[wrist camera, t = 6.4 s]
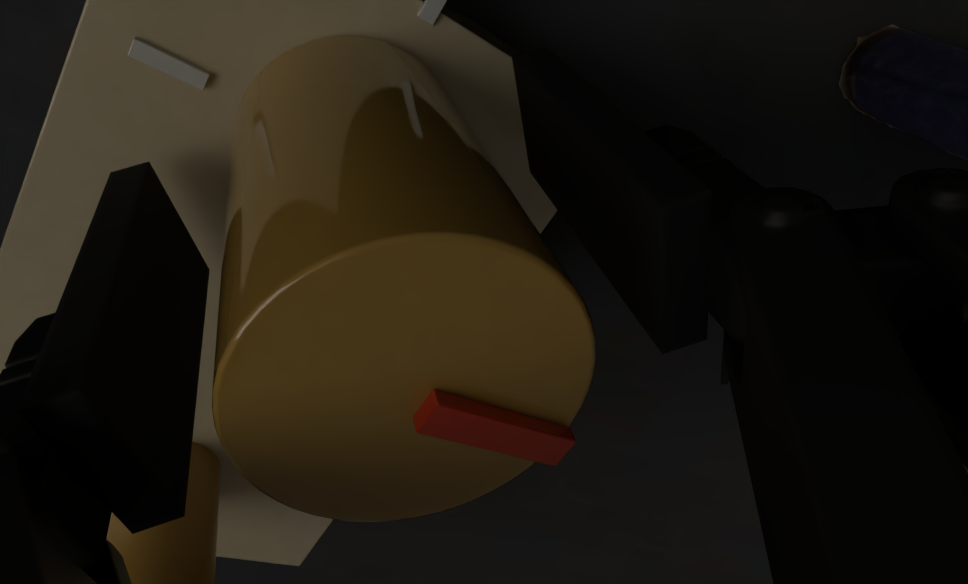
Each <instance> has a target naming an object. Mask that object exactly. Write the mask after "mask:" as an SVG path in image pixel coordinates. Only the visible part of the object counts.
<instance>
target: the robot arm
mask: <svg viewBox="0 0 968 584" xmlns="http://www.w3.org/2000/svg"><path fill="white" fill-rule="evenodd" d="M512 62H513V68H514V75H515V81H516V87H517V94H518V100H519V106H520V112H521V119H522V125H523V131H524V138H525V144H526V150H527V157H528V163H529V169H530V173H531V174H532V176H533V177H534V178H535V180H536V181H537V183H538V184H539V185H540V187H541V188H542V189H543V191H544V192H545V194H546V195H547V196H548V198H549V199H550V200H551V202H552V203H553V205H554V206H555V207H556V209H557V210H558V211H559V213H560V214H561V216H562V217H563V218H564V220H565V221H566V222H567V224H568V225H569V226H570V228H571V229H572V231H573V232H574V233H575V235H576V236H577V237H578V239H579V240H580V242H581V243H582V244H583V246H584V247H585V248H586V250H587V251H588V253H589V254H590V255H591V257H592V258H593V259H594V261H595V262H596V264H597V265H598V266H599V268H600V269H601V270H602V272H603V273H604V275H605V276H606V277H607V279H608V280H609V281H610V283H611V284H612V286H613V287H614V288H615V290H616V291H617V292H618V294H619V295H620V296H621V298H622V299H623V301H624V302H625V303H626V305H627V306H628V307H629V309H630V310H631V312H632V313H633V314H634V316H635V317H636V318H637V320H638V321H639V323H640V324H641V325H642V327H643V328H644V329H645V331H646V332H647V334H648V335H649V336H650V338H651V339H652V340H653V342H654V343H655V345H656V346H657V347H658V349H659V350H660V351H661V353H662V354H664V353H667V352H670V351H673V350H676V349H679V348H682V347H685V346H688V345H691V344H694V343H697V342H700V341H703V340H706V339H707V321H708V311H709V313H710V314H711V315H712V316H713V317H714V318H715V319H716V321H717V322H718V323H719V324H720V325H721V326H722V327H723V329H724V339H723V356H722V373H721V384H728V382H729V381H730V386H731V390H732V395H733V399H734V404H735V409H736V413H737V418H738V422H739V427H740V431H741V436H742V441H743V445H744V450H745V454H746V459H747V464H748V468H749V473H750V477H751V482H752V486H753V491H754V496H755V500H756V505H757V509H758V514H759V519H760V523H761V528H762V532H763V537H764V541H765V546H766V551H767V555H768V560H769V564H770V569H771V574H772V578H773V583H774V584H968V474H967V472H966V470H965V468H964V466H963V464H964V465H965V467H966V468H967V469H968V172H967V171H964V170H961V169H954V168H950V169H947V168H935V169H927V170H919V171H915V172H912V173H910V174H907V175H904V176H902V177H901V178H900V179H898V180H897V181H896V182H895V183H894V184H893V186H892V191H891V195H890V199H889V204H888V205H887V206H878V207H868V208H858V209H849V210H833V208H832V207H831V206H830V205H829V204H828V203H827V201H826V200H825V199H824V198H822V197H820V196H817V195H815V194H813V193H811V192H809V191H805V190H800V189H795V188H786V187H770V188H763V187H762V186H761V185H760V184H758V183H757V182H756V181H754V180H753V179H752V178H750V177H749V176H748V175H747V174H745V173H744V172H743V171H741V170H740V169H739V168H737V167H736V166H735V165H734V164H732V163H731V162H730V161H728V160H727V159H726V158H723V159H722V155H721V154H719V153H718V152H717V151H715V150H714V149H713V148H709V147H708V144H706V143H705V142H704V141H702V140H701V139H700V138H698V137H697V136H696V135H695V134H693V133H692V132H689V131H686V130H683V129H680V128H676V127H673V126H670V125H663V126H660V127H657V128H654V129H650V130H647V131H644V132H643V131H642V130H641V129H640V128H639V127H637V126H636V125H635V124H634V123H633V122H632V121H630V120H629V119H628V118H627V117H626V116H625V115H624V114H622V113H621V112H620V111H619V110H618V109H617V108H615V107H614V106H613V105H612V104H611V103H610V102H608V101H607V100H606V99H605V98H604V97H603V96H602V95H600V94H599V93H598V92H597V91H596V90H595V89H593V88H592V87H591V86H590V85H589V84H588V83H586V82H585V81H584V80H583V79H582V78H581V77H580V76H578V75H577V74H576V73H575V72H574V71H573V70H571V69H570V68H569V67H568V66H567V65H566V64H564V63H563V62H562V61H561V60H560V59H559V58H558V57H556V56H555V55H554V54H553V53H552V52H551V51H549V50H548V49H547V48H543V49H539V50H536V51H532V52H529V53H526V54H522V55H519V56H515V57H512ZM209 272H210V270H209V268H208V266H207V264H206V262H205V261H204V259H203V257H202V255H201V253H200V252H199V250H198V248H197V246H196V244H195V243H194V241H193V239H192V237H191V235H190V234H189V232H188V230H187V228H186V227H185V225H184V223H183V221H182V219H181V218H180V216H179V214H178V212H177V210H176V209H175V207H174V205H173V203H172V201H171V200H170V198H169V196H168V194H167V192H166V191H165V189H164V187H163V185H162V183H161V182H160V180H159V178H158V176H157V175H156V173H155V171H154V169H153V167H152V166H151V164H150V162H145V163H142V164H138V165H135V166H131V167H128V168H124V169H121V170H117V171H114V172H110V175H109V178H108V180H107V183H106V185H105V188H104V190H103V193H102V195H101V198H100V200H99V203H98V205H97V208H96V211H95V213H94V216H93V218H92V221H91V223H90V226H89V228H88V231H87V233H86V236H85V239H84V241H83V244H82V246H81V249H80V251H79V254H78V256H77V259H76V261H75V264H74V266H73V269H72V272H71V274H70V277H69V279H68V282H67V284H66V287H65V289H64V292H63V294H62V297H61V299H60V302H59V305H58V307H57V310H56V312H55V313H52V314H49V315H46V316H42V317H39V318H36V319H35V320H34V321H33V323H32V324H31V325H30V326H29V327H28V328H27V329H26V330H25V331H24V332H23V334H22V335H21V336H20V337H19V338H18V339H17V340H16V341H15V343H14V345H13V347H12V349H11V352H10V354H9V356H8V358H7V361H6V363H5V367H6V369H2V372H1V374H0V584H132V583H131V580H130V577H129V574H128V571H127V568H126V565H125V562H124V559H123V556H122V555H121V554H120V552H119V551H118V550H117V549H116V547H115V546H114V545H113V544H112V543H111V542H110V541H109V540H108V539H107V533H108V528H109V523H110V518H111V513H113V514H114V515H115V516H116V517H117V518H118V519H119V520H120V521H121V522H122V523H123V524H124V525H125V526H126V528H127V529H128V530H129V531H130V532H131V533H132V534H134V533H137V532H140V531H143V530H146V529H149V528H152V527H155V526H158V525H161V524H164V523H167V522H170V521H173V520H176V519H178V518H181V517H184V516H185V508H186V498H187V488H188V478H189V468H190V458H191V449H192V439H193V429H194V419H195V409H196V399H197V390H198V380H199V370H200V360H201V350H202V341H203V331H204V321H205V311H206V301H207V291H208V282H209ZM962 463H963V464H962Z"/></svg>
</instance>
